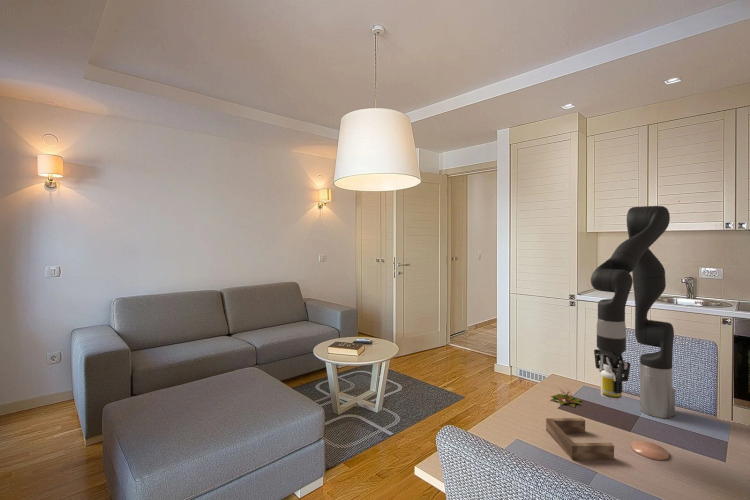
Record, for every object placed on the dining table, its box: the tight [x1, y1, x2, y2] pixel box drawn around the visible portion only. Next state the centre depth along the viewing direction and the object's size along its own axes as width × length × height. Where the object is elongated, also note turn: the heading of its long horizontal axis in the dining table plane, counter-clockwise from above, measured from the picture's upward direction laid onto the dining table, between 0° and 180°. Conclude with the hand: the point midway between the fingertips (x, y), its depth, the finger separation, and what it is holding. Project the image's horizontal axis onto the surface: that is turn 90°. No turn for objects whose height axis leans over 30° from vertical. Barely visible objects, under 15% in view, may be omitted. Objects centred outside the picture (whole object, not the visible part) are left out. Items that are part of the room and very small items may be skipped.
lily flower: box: [550, 388, 583, 408], centre depth 141 cm, size 12×12×5 cm
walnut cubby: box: [545, 417, 615, 461], centre depth 112 cm, size 12×16×4 cm
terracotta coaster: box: [630, 440, 670, 461], centre depth 107 cm, size 9×9×1 cm
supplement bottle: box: [600, 364, 623, 401], centre depth 111 cm, size 5×5×10 cm
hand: (610, 388), depth 111 cm, fingers closed on supplement bottle, 5 cm apart
